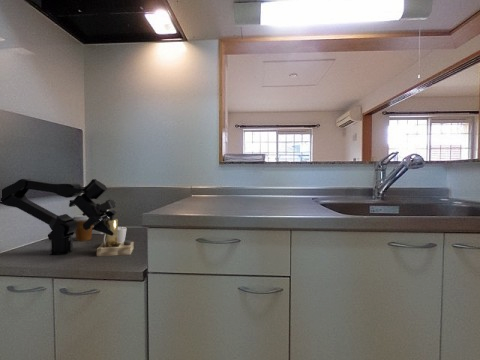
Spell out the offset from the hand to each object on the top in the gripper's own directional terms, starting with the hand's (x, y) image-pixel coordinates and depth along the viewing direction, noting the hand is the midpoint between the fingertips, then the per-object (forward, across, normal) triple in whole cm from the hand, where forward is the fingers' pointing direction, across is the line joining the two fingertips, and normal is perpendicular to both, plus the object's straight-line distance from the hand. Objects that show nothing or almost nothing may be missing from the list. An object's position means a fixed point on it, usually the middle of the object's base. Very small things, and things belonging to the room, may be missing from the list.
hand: (115, 233), depth 110 cm
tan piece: (+4, 0, +6) cm, 7 cm away
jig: (+6, 0, +5) cm, 8 cm away
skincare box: (-11, +37, +23) cm, 45 cm away
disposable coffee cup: (-11, +22, +23) cm, 34 cm away
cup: (+3, +10, +8) cm, 13 cm away
